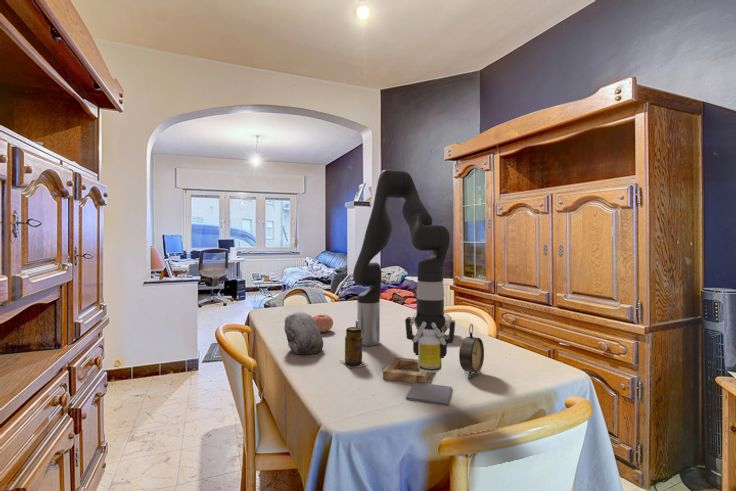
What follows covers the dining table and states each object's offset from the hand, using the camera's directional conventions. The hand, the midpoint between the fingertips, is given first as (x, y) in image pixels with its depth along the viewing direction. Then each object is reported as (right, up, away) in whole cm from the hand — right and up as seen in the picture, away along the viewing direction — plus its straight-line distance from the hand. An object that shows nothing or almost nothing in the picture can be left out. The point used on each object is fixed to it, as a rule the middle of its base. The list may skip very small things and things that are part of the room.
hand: (429, 355), depth 103 cm
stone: (-42, -10, +38) cm, 58 cm away
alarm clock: (+16, -11, +15) cm, 24 cm away
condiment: (-22, -10, +25) cm, 35 cm away
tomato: (-39, -9, +67) cm, 78 cm away
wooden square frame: (-4, -10, +15) cm, 19 cm away
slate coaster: (0, -11, 0) cm, 11 cm away
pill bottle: (0, -4, 0) cm, 4 cm away
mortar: (+11, -9, +60) cm, 62 cm away
